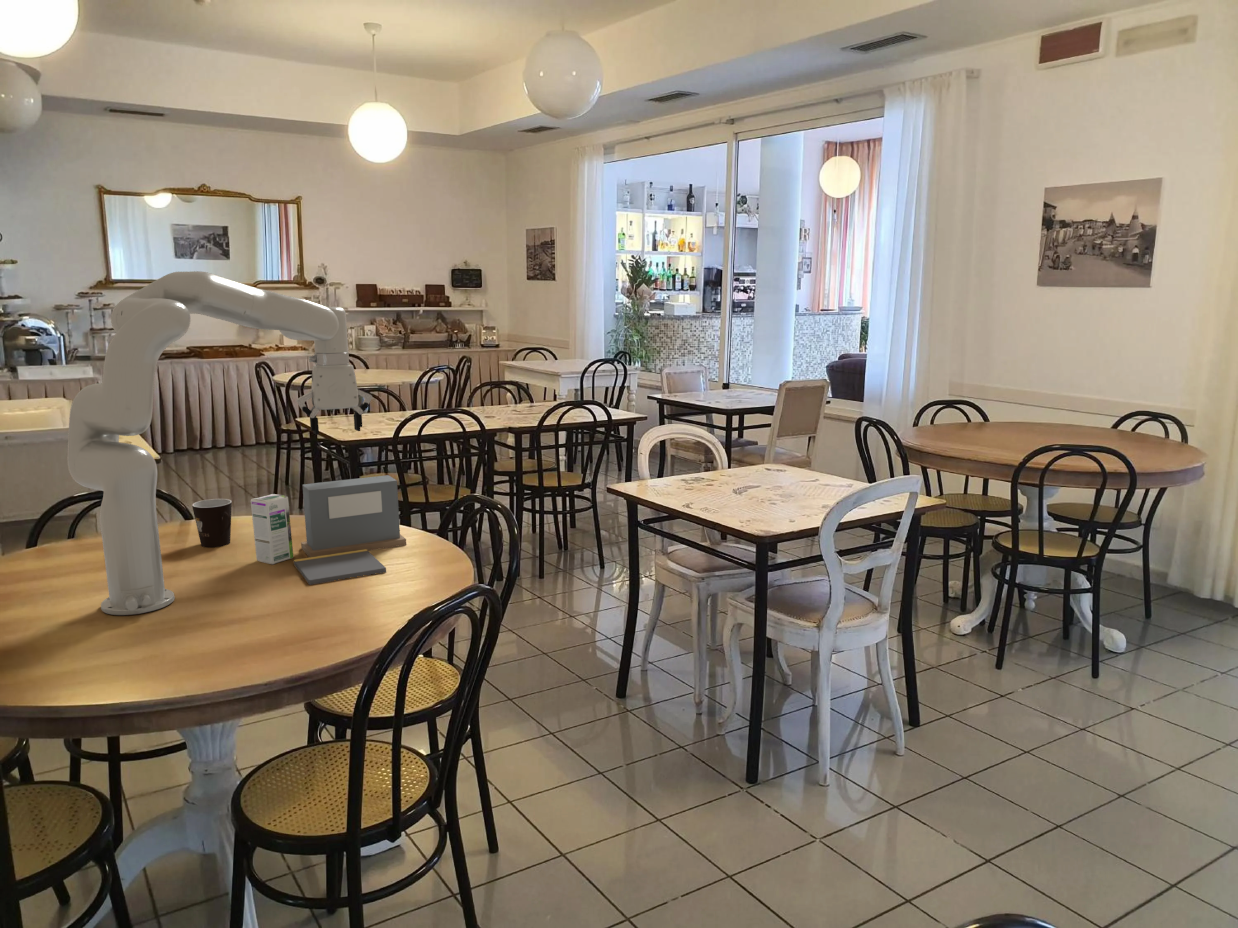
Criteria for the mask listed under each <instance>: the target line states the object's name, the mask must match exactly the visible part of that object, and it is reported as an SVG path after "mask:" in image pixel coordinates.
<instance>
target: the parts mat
mask: <svg viewBox="0 0 1238 928" xmlns="http://www.w3.org/2000/svg"><path fill="white" fill-rule="evenodd" d="M293 565H294V566H295V568H296V569H297V571H298V572H299V573H300V575H301V576H302V577H303V579H304V580H305V581H306V582H307V584H308V585H309V586H310V585H317V584H323V583H329V582H335V581H334V580H336V581H339V580H338V579H343V580H346V579H345V578H349V579H351V578H350V577H355V578H358V577H357V576H361V577H364V576H363V575H367V576H372V575H371V574H373V575H376V574H375V573H379V574H384V573H383V572H385V573H387V567H386V566H385V565H384V564H383V563H381V561H379V560H378V559H377V558H376V556H374V555H373V554H372V553H371V552H370V551H368V550H367V549H364V550H357V551H350V552H344V553H337V554H330V555H323V556H317V557H310V558H309V557H306V558H297V559H294V560H293Z"/></svg>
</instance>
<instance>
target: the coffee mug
mask: <svg viewBox="0 0 1238 928" xmlns="http://www.w3.org/2000/svg"><path fill="white" fill-rule="evenodd" d="M232 502H233V501H232V500H231V499H229V498H212V499H204V500H199V501H196V502H193V503H192V512H193V515H194V520H195V521H194V522H195V523H196V524H195V525H196V528H197V532H198V533H197V534H198V537H199V540H200V546H201V547H203V548H213V549H214V548H220V547H224V546H227V545H229V544H230V543H231V531H232V508H233V507H232V505H233V504H232Z"/></svg>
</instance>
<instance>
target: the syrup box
mask: <svg viewBox="0 0 1238 928" xmlns="http://www.w3.org/2000/svg"><path fill="white" fill-rule="evenodd" d="M289 505H290V504H289V497H288V496H287V495H283V494H278V493H277V494H275V493H271V494H268V495H264V496H260V497H257V498H256V497H255V498H251V499H250V506H251V508H250V509H251V516H252V527H253V528H252V529H253V537H254V547H255V556H256V557H255V558H256V561H258V562H261V563H265V564H270V565H275V564H278V563H280V562H281V563H282V562H284V561H286V560H291V559H293V558H294V550H293V549H294V548H293V540H292V539H293V538H292V537H293V536H292V525H291V516H290V515H291V514H290V506H289Z"/></svg>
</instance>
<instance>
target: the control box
mask: <svg viewBox="0 0 1238 928" xmlns="http://www.w3.org/2000/svg"><path fill="white" fill-rule="evenodd" d="M302 494H303V495H302V497H303V509H304V523H305V536H306V538H305V539H306V541H301V542H300V544H301V545H300V546H301V549H302V551H303V552H304V554H305V555H307V558H310V557H317V556H323V555H330V554H337V553H344V552H350V551H357V550H364V549H367V550H368V551H369V552H370V551H376V550H383V549H388V548H395V547H401V546H406V545H407V538H406V537H405V536H403V535H402V534H401V532H400V531H401V530H400V513H399V498H398V497H399V495H398V480H397V479H396V478H394V477H392V476H390V475H389V474H387V475H378V476H369V477H367V476H366V477H361V478H360V477H359V478H349V479H341V480H332V481H331V480H330V481H324V482H323V481H322V482H315V483H314V482H312V483H307V484H302Z"/></svg>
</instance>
